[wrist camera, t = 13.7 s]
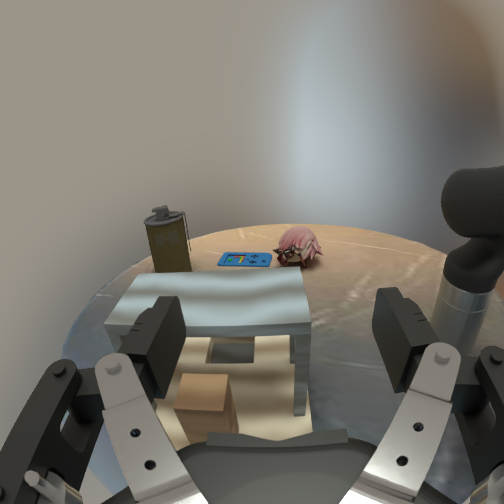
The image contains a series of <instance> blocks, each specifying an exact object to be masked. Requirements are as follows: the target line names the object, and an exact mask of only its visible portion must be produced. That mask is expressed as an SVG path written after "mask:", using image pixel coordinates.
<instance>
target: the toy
mask: <svg viewBox="0 0 504 504" xmlns="http://www.w3.org/2000/svg"><path fill="white" fill-rule="evenodd" d="M320 248H321V247H320V246H319V245H318V242H317V239H316V237H315V235H314V233H313V232H312V231H311V230H310V229H309V228H307V227H304V226H297V227H292V228H290V229H289V230H287V231H286V232H285V233H284V234H283V236H282V237H281V238H280V241H279V247H278V249H276V250H275V249H274V250H275V251H274V250H273V251H274V252H275V253H277V254H278V255H279V256H278V258H277V260H278V261H279V262H280V263H281V264H282V265H284V264H287V265H288V262H298V261H300V262H302V263H303V265H304V267H305V268H306V265H305V263H306V261H307V260H311V259H312V258H313V256H314V255H315V254H316V253H318V254H320V255H323V253H322V251H321V249H320ZM288 267H289V266H288Z"/></svg>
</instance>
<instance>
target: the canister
mask: <svg viewBox="0 0 504 504" xmlns="http://www.w3.org/2000/svg"><path fill="white" fill-rule="evenodd" d="M154 211H155V212H156V214H155V215H152V216H149V217H148V218H146V219H145V220H144V224H145V225H146V230H147V235H148V240H149V245H150V250H151V254H152V259H153V263H154V267H155V272H156V273H174V272H192V269H191V263H190V257H189V252H188V246H187V240H186V234H185V227H184V221H183V213H184V212H177V211H169V210H168V207H167V205H165V206H162V207H156V208H154V209H153V210H152V212H154ZM184 214H185V213H184ZM185 220H186V219H185ZM186 225H187V224H186ZM186 227H187V226H186ZM187 233H188V230H187ZM188 238H189V237H188ZM188 240H189V239H188ZM189 246H190V242H189ZM190 251H191V248H190Z"/></svg>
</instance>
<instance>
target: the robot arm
mask: <svg viewBox="0 0 504 504" xmlns="http://www.w3.org/2000/svg"><path fill="white" fill-rule="evenodd" d="M441 207H442V212H443V215H444V218H445V220H446V222H447V224H448V225H449V227H450V228H451V229H452V230H453V231H455V232H456V233H457V234H459V235H460V236H464V237H468V238H471V239H470V240H469V242H467V243H466V244H464V245H463V246H461V247H459V248H457V249H455V250H453V251H452V252H450V253H449V254H448V256H447V258H446V261H445V265H444V270H443V275H442V279H441V284H440V288H439V292H438V296H437V300H436V304H435V308H434V311H433V315H432V318H431V322H430V324H429V322H428V321H427V319H426V317H425V316H424V314H423V313H422V311H421V309H420V308H419V306H418V305H417V304H416V303H414V302H413V301H412V300H410V299H409V298H403V296H402V294H401V293H400V291H399V290H398V288H397V287H390V288H379V289H378V291H377V294H376V301H375V307H374V313H373V319H372V330H373V335H374V337H375V340H376V342H377V345H378V348H379V350H380V353H381V356H382V358H383V361H384V364H385V367H386V369H387V372H388V375H389V378H390V381H391V383H392V386H393V389H394V392H395V393H400V392H405V393H406V395H405V397H404V399H403V401H402V403H401V405H400V407H399V409H398V411H397V413H396V415H395V417H394V419H393V421H392V423H391V425H390V427H389V428H388V430H387V432H386V434H385V436H384V437H383V439H382V441H381V443H380V444H379V446H378V447H377V446H375V445H373V444H371V443H368V442H366V441H362V440H359V439H354V438H348V436H347V430H346V429H340V430H330V431H319V432H311V433H307V434H304V435H300V436H296V437H292V438H288V439H284V440H280V441H274V440H269V439H264V438H259V437H255V436H250V435H246V434H242V433H219V432H208V437H207V441H202V442H198V443H194V444H191V445H188V446H186V447H184V448H181V449H180V450H178V451H177V450H176V449H175V447H174V445H173V444H172V442H171V440H170V438H169V436H168V435H167V433H166V431H165V429H164V427H163V425H162V423H161V422H160V420H159V418H158V416H157V414H156V412H155V410H154V408H153V406H152V403H153V400H154V398H157V399H165V397H166V394H167V391H168V388H169V385H170V382H171V380H172V377H173V374H174V371H175V368H176V365H177V363H178V360H179V357H180V354H181V351H182V349H183V346H184V343H185V340H186V325H185V321H184V317H183V313H182V309H181V305H180V301H179V298H178V297H177V296H159V297H158V298H157V300H156V302H155V304H154V305H153V307H152V308H147V309H146V310H144V311H143V312H142V313H141V314H139V316H138V318H137V319H136V321H135V323H134V325H133V326H132V328H131V329H130V331H129V333H128V334H127V336H126V338H125V339H124V341H123V343H122V344H121V346H120V348H119V350H118V351H117V353H113V354H109V355H107V356H105V357H103V358H102V359H101V360H99V362H98V363H97V364H96V367H95V368H88V369H79V370H78V368H77V367H76V365H75V363H74V362H73V361H71V360H68V359H62V360H58V361H56V362H54V363H53V364H51V365H50V366H49V367H48V368H47V370H46V371H45V373H44V375H43V376H42V378H41V379H40V381H39V383H38V384H37V386H36V388H35V389H34V391H33V393H32V394H31V396H30V398H29V400H28V401H27V403H26V405H25V406H24V408H23V410H22V412H21V413H20V415H19V417H18V419H17V421H16V422H15V424H14V426H13V428H12V430H11V432H10V434H9V436H8V437H7V439H6V441H5V443H4V446H3V447H2V450H1V451H0V504H83V500H82V497H81V495H80V493H79V490H80V487H81V484H82V481H83V478H84V474H85V472H86V469H87V466H88V463H89V460H90V457H91V454H92V452H93V449H94V446H95V443H96V441H97V438H98V435H99V433H100V430H101V427H102V425H103V422H104V421H105V424H106V427H107V430H108V433H109V436H110V439H111V442H112V445H113V448H114V451H115V453H116V456H117V459H118V461H119V464H120V466H121V469H122V471H123V474H124V476H125V478H126V481H127V483H128V485H129V486H127V487H126V488H124V489H123V490H121V491H120V492H118V493H117V494H115V495H114V496H112V497H111V498H109V499H108V500H106V501H105V502H103V503H101V504H457V503H456V502H454V501H452V500H451V499H449V498H448V497H447V496H445V495H444V494H442V493H441V492H439V491H438V490H436V489H435V488H433V487H432V486H430V485H429V484H428V483H426V482H425V481H423V480H424V478H425V476H426V474H427V472H428V470H429V467H430V465H431V463H432V460H433V458H434V456H435V453H436V451H437V448H438V446H439V443H440V440H441V438H442V435H443V432H444V429H445V427H446V424H447V421H448V418H449V415H450V413H454V414H455V417H456V419H457V422H458V425H459V428H460V431H461V434H462V437H463V440H464V444H465V447H466V450H467V453H468V457H469V460H470V464H471V468H472V471H473V475H474V479H475V483H476V486H475V488H474V489H473V491H472V494H471V498H470V503H469V504H504V350H503V349H501V348H499V347H496V346H488V347H485V348H484V349H483V350H482V351H481V353H480V355H479V357H469V355H470V353H471V350H472V348H473V346H474V343H475V341H476V338H477V336H478V334H479V331H480V328H481V326H482V323H483V321H484V318H485V315H486V312H487V310H488V307H489V303H490V300H491V297H492V294H493V291H494V288H495V285H496V282H497V279H498V278H499V276H500V275H501V274H502V272H503V270H504V165H503V166H499V167H492V168H478V169H460V170H457V171H456V172H454V173H453V174H452V175H451V176H450V177H449V178H448V180H447V181H446V183H445V185H444V188H443V191H442V196H441ZM489 402H491V405H492V407H493V409H494V411H495V414H496V420H495V418H494V415H493V413H492V411H491V408H490V406H489V404H488V403H489ZM66 411H68V412H69V415H68V418H67V420H66V422H65V424H64V426H63V428H62V431H61V432H60V424H61V422H62V420H63V417H64V415H65V413H66Z"/></svg>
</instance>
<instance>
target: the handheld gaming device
mask: <svg viewBox="0 0 504 504" xmlns="http://www.w3.org/2000/svg"><path fill="white" fill-rule="evenodd" d="M271 259H272V255H271V254H269V253H236V252H226V253H224V254H223V256H222V257H221V259H220V260H219V262H218V266H246V267H269V266H270V262H271Z"/></svg>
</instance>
